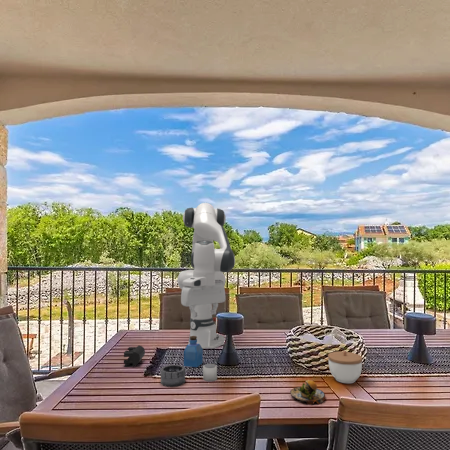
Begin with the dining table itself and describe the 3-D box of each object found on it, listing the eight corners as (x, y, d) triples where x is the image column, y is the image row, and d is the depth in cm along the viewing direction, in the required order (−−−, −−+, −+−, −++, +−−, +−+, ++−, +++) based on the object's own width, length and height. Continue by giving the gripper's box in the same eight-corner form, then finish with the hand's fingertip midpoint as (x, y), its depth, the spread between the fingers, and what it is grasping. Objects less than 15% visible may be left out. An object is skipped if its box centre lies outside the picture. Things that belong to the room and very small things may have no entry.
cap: (210, 375, 149) (210, 362, 149) (219, 378, 145) (219, 365, 146) (200, 379, 145) (200, 365, 146) (209, 382, 142) (209, 368, 142)
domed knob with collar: (174, 375, 149) (174, 363, 149) (189, 381, 142) (189, 368, 143) (155, 382, 142) (155, 368, 142) (170, 388, 136) (170, 374, 136)
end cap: (139, 367, 160) (139, 351, 160) (123, 367, 160) (123, 351, 160) (145, 360, 170) (145, 345, 170) (129, 360, 170) (129, 345, 170)
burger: (292, 389, 135) (291, 368, 135) (325, 393, 132) (325, 372, 132) (288, 403, 123) (287, 380, 124) (324, 407, 120) (324, 384, 120)
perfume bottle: (183, 365, 161) (183, 337, 162) (189, 361, 167) (189, 334, 167) (196, 367, 159) (196, 339, 160) (202, 363, 165) (202, 335, 165)
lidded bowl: (325, 374, 150) (324, 346, 150) (356, 374, 149) (356, 346, 150) (333, 386, 137) (332, 355, 138) (367, 386, 137) (366, 356, 137)
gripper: (218, 279, 158) (218, 312, 157) (178, 281, 145) (178, 317, 144) (228, 279, 154) (228, 313, 153) (188, 282, 140) (188, 319, 139)
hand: (204, 315), depth 148 cm, fingers open, 8 cm apart
